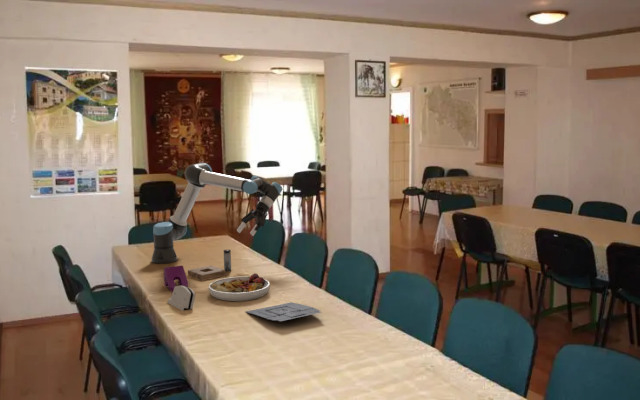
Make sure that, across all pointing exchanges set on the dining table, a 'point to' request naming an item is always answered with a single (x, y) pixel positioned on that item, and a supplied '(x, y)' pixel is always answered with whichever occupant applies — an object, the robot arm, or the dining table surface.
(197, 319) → the dining table surface
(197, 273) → the socket block
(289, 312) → the grey flat panel
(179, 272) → the mounting bracket
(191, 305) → the napkin holder
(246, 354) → the dining table surface
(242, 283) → the bowl
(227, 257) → the grey and black cylinder
